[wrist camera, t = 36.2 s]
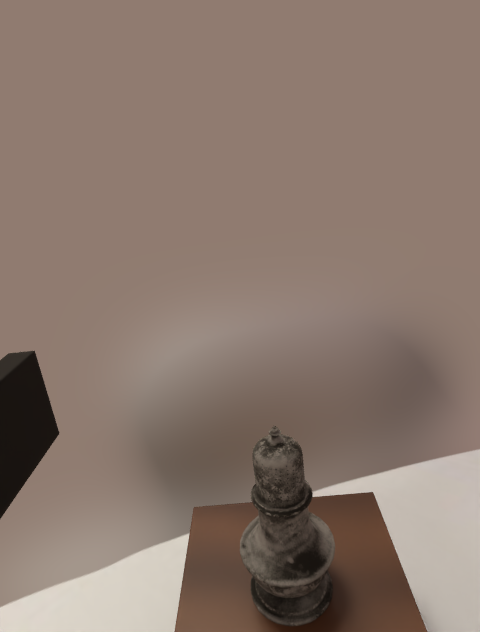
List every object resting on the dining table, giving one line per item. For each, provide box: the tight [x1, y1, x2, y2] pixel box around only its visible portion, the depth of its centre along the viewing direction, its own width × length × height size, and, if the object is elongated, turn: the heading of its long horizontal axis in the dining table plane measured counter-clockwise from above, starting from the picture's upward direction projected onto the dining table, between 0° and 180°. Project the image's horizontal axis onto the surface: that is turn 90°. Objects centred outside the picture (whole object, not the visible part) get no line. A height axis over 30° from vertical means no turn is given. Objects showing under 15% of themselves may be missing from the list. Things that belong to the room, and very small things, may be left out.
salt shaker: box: [240, 426, 335, 626], centre depth 26 cm, size 6×6×12 cm
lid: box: [175, 492, 427, 632], centre depth 29 cm, size 14×15×1 cm
